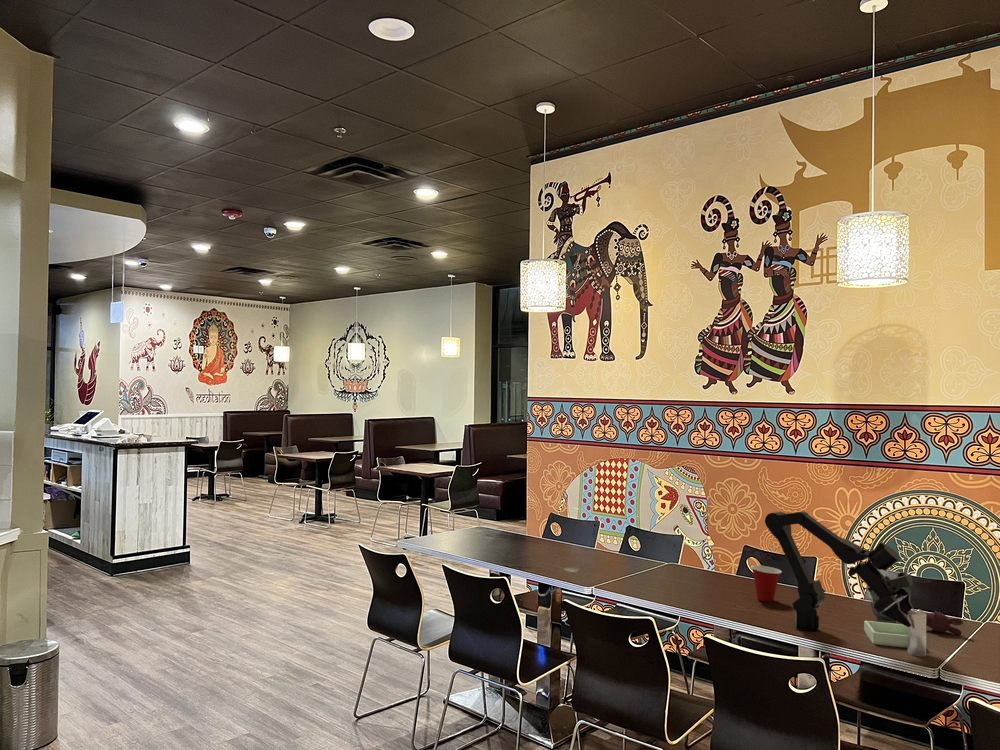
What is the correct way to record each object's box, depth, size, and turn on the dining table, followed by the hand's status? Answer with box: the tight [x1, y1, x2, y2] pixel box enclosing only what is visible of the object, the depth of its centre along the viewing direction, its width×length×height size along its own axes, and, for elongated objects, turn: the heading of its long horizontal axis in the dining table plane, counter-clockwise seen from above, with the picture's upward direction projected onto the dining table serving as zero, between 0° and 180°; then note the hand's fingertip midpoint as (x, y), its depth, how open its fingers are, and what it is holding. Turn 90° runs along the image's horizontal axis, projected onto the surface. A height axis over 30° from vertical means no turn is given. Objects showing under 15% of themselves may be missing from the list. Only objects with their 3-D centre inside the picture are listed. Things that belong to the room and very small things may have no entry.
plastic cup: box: [751, 564, 782, 603], centre depth 275 cm, size 11×11×12 cm
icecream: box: [924, 610, 964, 636], centre depth 241 cm, size 7×7×15 cm
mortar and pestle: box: [866, 586, 897, 624], centre depth 250 cm, size 11×9×12 cm
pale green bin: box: [863, 620, 908, 649], centre depth 230 cm, size 14×14×4 cm
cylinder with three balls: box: [907, 608, 927, 658], centre depth 217 cm, size 5×5×13 cm
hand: (914, 623), depth 218 cm, fingers open, 9 cm apart
